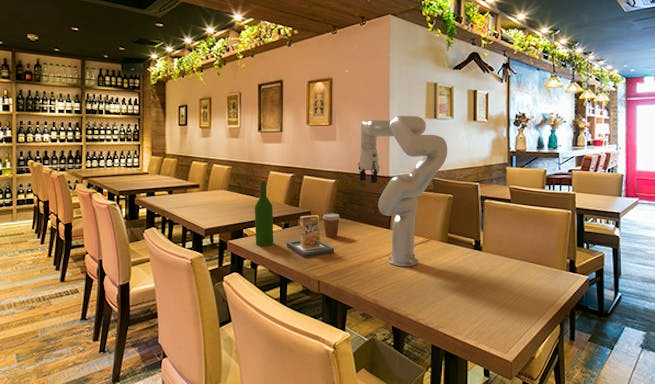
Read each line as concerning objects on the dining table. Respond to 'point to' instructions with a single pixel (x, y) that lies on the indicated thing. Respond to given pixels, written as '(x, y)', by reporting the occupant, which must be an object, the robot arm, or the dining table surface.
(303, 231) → the candy box
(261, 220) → the wine bottle
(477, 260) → the dining table surface
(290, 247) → the gray tray
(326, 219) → the disposable coffee cup
